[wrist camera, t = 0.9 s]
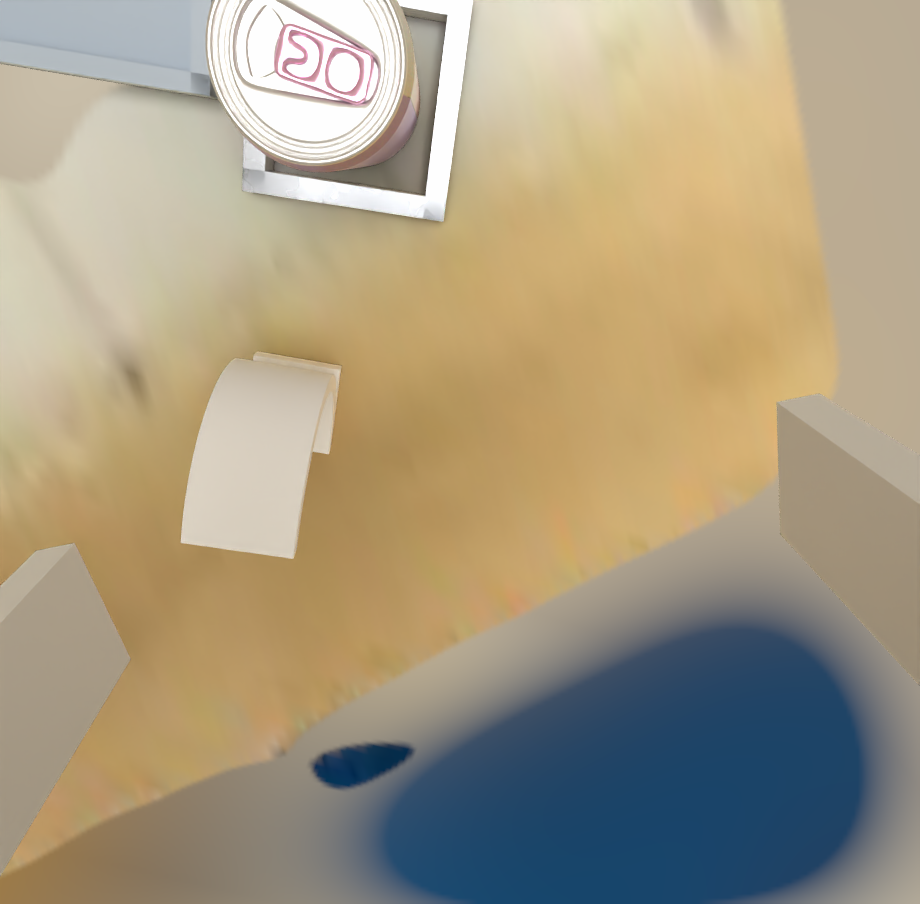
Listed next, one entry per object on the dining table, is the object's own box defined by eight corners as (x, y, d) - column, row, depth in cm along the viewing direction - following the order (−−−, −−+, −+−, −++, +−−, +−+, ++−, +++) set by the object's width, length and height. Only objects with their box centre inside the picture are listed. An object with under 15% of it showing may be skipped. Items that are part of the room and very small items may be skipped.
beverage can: (400, 184, 35) (381, 201, 21) (281, 142, 34) (180, 132, 20) (436, 53, 33) (441, -22, 19) (310, 6, 32) (219, -111, 18)
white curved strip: (249, 435, 40) (179, 542, 29) (258, 332, 38) (187, 404, 26) (331, 449, 40) (293, 559, 29) (344, 347, 38) (310, 425, 27)
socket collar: (252, 189, 35) (242, 190, 33) (259, -38, 31) (249, -50, 29) (442, 218, 36) (443, 221, 34) (471, 1, 32) (473, -8, 30)
